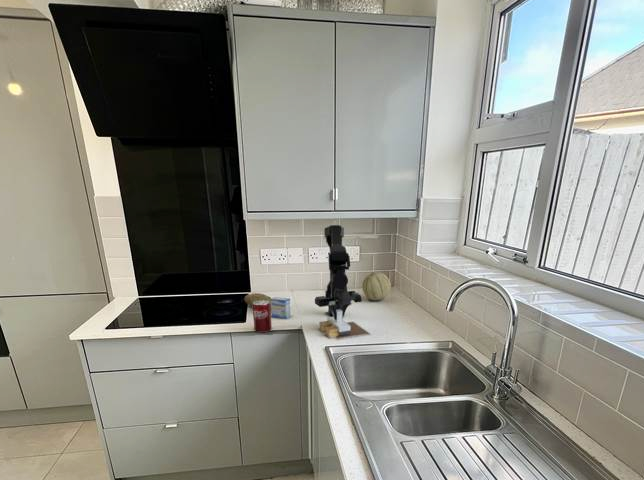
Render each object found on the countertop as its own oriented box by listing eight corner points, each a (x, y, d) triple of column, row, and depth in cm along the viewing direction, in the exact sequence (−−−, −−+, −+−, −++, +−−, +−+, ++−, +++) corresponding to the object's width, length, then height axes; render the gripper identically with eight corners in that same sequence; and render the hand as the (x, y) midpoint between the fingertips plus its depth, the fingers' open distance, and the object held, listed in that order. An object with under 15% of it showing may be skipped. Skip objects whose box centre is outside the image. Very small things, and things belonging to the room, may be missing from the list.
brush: (327, 325, 174) (327, 306, 171) (338, 324, 176) (337, 305, 172) (339, 335, 163) (339, 315, 160) (350, 333, 165) (350, 313, 161)
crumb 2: (325, 334, 166) (325, 327, 164) (334, 332, 167) (334, 325, 166) (329, 337, 162) (329, 330, 161) (338, 335, 164) (338, 328, 162)
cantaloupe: (395, 299, 214) (397, 271, 209) (378, 305, 205) (379, 276, 199) (373, 294, 224) (374, 267, 218) (356, 300, 214) (356, 271, 208)
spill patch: (323, 326, 175) (323, 326, 175) (352, 322, 180) (352, 321, 180) (337, 338, 161) (337, 338, 161) (369, 334, 166) (369, 333, 166)
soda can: (266, 333, 167) (264, 305, 162) (251, 331, 169) (248, 304, 165) (274, 328, 173) (273, 301, 169) (259, 326, 176) (257, 299, 171)
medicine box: (271, 317, 188) (270, 299, 184) (275, 314, 191) (274, 296, 188) (286, 318, 185) (285, 300, 182) (290, 316, 189) (290, 298, 186)
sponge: (277, 314, 196) (269, 295, 212) (274, 300, 191) (266, 282, 207) (251, 321, 194) (245, 302, 209) (247, 307, 189) (241, 288, 204)
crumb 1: (319, 328, 172) (319, 321, 171) (328, 327, 173) (327, 320, 172) (322, 331, 169) (322, 324, 167) (331, 330, 170) (331, 323, 169)
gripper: (323, 289, 151) (324, 328, 157) (368, 284, 158) (367, 322, 164) (313, 282, 161) (314, 320, 167) (356, 278, 167) (355, 314, 174)
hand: (338, 319), depth 168 cm, fingers closed on brush, 2 cm apart
